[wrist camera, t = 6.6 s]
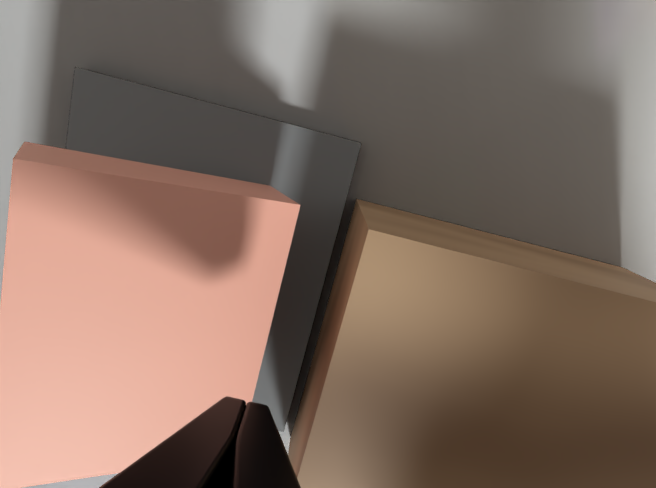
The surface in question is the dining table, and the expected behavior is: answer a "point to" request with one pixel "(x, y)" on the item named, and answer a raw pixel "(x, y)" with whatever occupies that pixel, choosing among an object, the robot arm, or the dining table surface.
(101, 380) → the pink block
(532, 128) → the dining table surface
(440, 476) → the brown square block
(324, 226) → the mat
